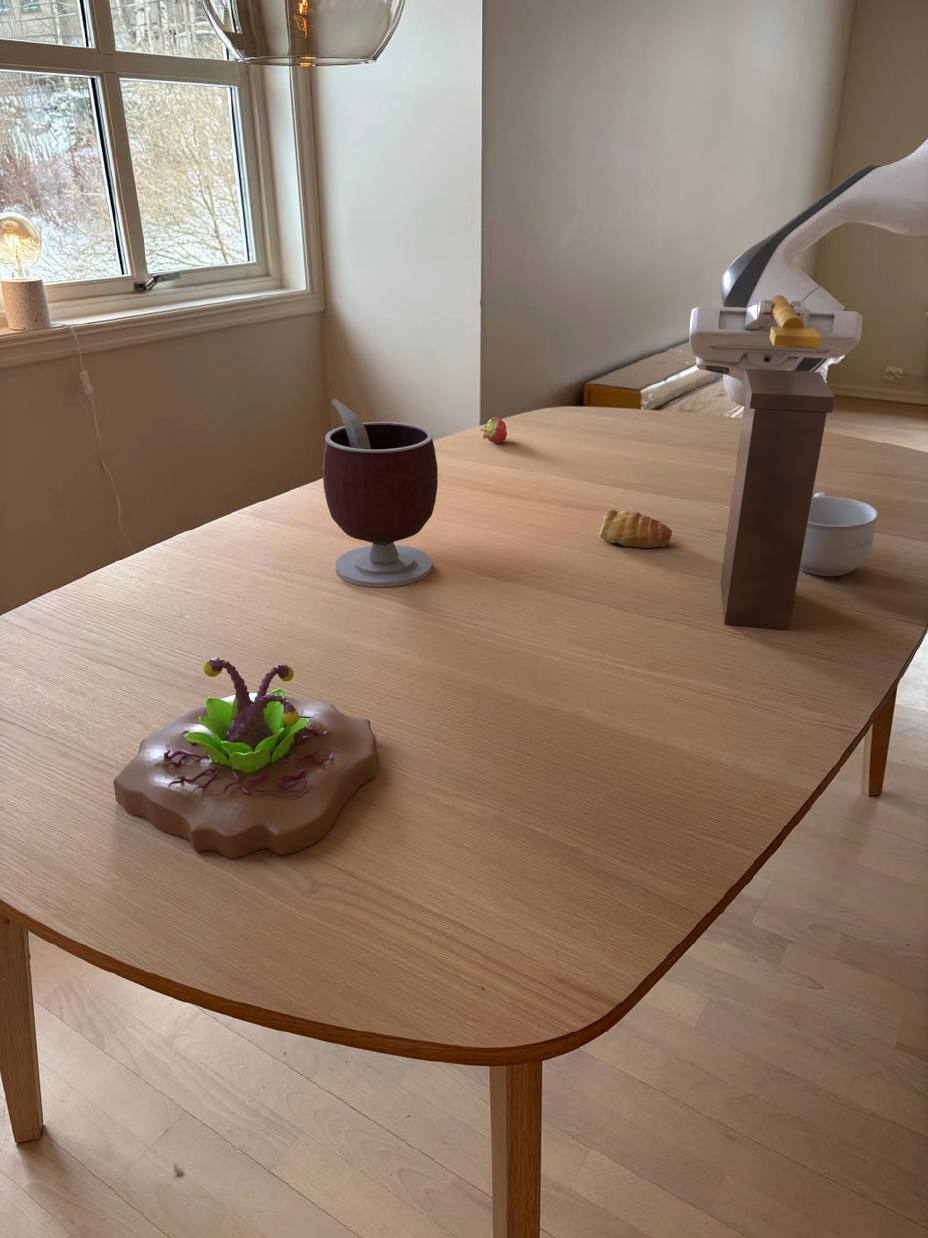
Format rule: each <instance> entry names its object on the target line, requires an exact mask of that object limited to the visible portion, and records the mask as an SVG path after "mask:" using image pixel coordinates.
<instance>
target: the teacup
mask: <svg viewBox="0 0 928 1238" xmlns="http://www.w3.org/2000/svg"><path fill="white" fill-rule="evenodd" d="M878 518H879V512H878V510H877V509H876V508H874V506H873V505H870V504H868V503H866V502H863V501H860V500H859V499H858V500H857V499H853V498H849V497H848V498H847V497H841V496H832V495H831V496H829V494H828V493H826V492H816V493H815V494H814V495H813V496H812V501H811V506H810V512H809V518H808V523H807V529H806V535H805V541H804V546H803V552H802V558H801V563H800V569H799V570H801V571H803V572H805V573H807V574H810V575H814V576H819V577H820V576H821V577H840V576H844V575H847V574H849V573H851V572H852V571H854V570H856V569H857V568H859V567H861V566H862V565H863V564H864V563H865V562H866V561H867V560H868V558H869V556H870V553H871V550H872V546H873V542H874V536H875V532H876V525H877V524H876V523H877V520H878Z"/></svg>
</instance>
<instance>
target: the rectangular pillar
mask: <svg viewBox="0 0 928 1238" xmlns="http://www.w3.org/2000/svg"><path fill="white" fill-rule="evenodd" d="M743 385H744V389H745V392H746V397H745V404H744V407H743V413H742V419H741V428H740V434H739V441H738V449H737V455H736V457H737V458H736V463H735V464H736V465H735V471H734V479H733V486H732V494H731V500H730V501H731V502H730V507H729V508H730V509H729V516H728V523H727V530H726V536H725V537H726V539H725V544H724V551H723V558H722V561H723V562H722V565H721V566H722V567H721V574H720V593H721V603H722V615H723V625H729V626H738V627H739V626H740V627H749V628H751V627H752V628H761V629H762V628H763V629H771V630H772V629H773V630H782V631H785V630H786V631H790V627H791V626H790V625H791V619H792V615H793V608H794V603H795V597H796V591H797V586H798V581H799V580H798V579H799V573H800V570H801V569H800V563H801V558H802V552H803V546H804V541H805V535H806V529H807V523H808V518H809V512H810V506H811V501H812V497H813V496H814V495H813V494H814V488H815V484H816V477H817V472H818V465H819V461H820V455H821V448H822V443H823V437H824V431H825V427H826V420H827V415H828V414H832V413H833V411H834V406H835V405H834V404H835V400H836V396H835V395H834V394H833V391H832V390H831V388H830V387H829V386H828V384H827V382H826V380H825V379H824V377H823V376H822V374H821V372H820V371H815V372H808V371H785V370H763V369H745V370H744V378H743Z"/></svg>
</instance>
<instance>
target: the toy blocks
mask: <svg viewBox="0 0 928 1238" xmlns="http://www.w3.org/2000/svg"><path fill="white" fill-rule="evenodd" d="M771 300H773V306H772V308H773V309H772V315H773V317H774V319H775V321H776V323H777V324H778V326H779V327H771V332H770V340H771V342H772V344H773V346H774V347H788V348H808V349H819V345H820V339H821V337H820V335H819V334H818V333H817V331H816V330H815V329H811V328H804V325H803V322H802V321H801V319H800V318H799V317H798V315H797V314H796V312H795V311H794V309H793V308H792V307H791V305H790V304H789V302H788V301H787V299H786V298H785V297H783V296H780V295H778V296H775V297H773V298H772V299H771Z"/></svg>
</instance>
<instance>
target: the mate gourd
mask: <svg viewBox="0 0 928 1238" xmlns="http://www.w3.org/2000/svg"><path fill="white" fill-rule="evenodd" d="M331 405H332V406H333V407H335V408H336V410H337V412H338V413H339V416H340V417H341V420H342V423H343V426H339V427H336V428H334V429H332V430H330V431H328V432H327V433H326V434H325V436H324V441H325V444H324V449H323V455H322V456H323V458H322V468H321V469H322V485H323V491H324V496H325V502H326V505H327V509H328V511H329V514H330V516H331V518H332V520H333V521H334V522H335V523H336V525H337V526H338V527H339V528H340V529H341V530H342V531H343V533H344V534H346V535H347V536H349V537H351V538H352V539H355V540H359V541H364V542H368V543H372V544H371V545H367V546H361V547H358V548H355V549H351V550H348V551H346V552H344V553H343V554H341V555H340V556H339V557H338V558H337V559H336V560H335V565H334V566H335V573H336V575H337V576H338V577H339V579H341V580H343V581H345V582H347V583H350V584H352V585H356V586H361V587H367V588H368V587H369V588H392V587H393V588H394V587H401V586H406V585H410V584H413V583H416V582H419V581H421V580H423V579H424V578H426V577H427V576H428V575H429V574H430V573H432V569H433V560H432V558H431V556H430V555H429V554H428V553H426V552H425V551H422V550H421V549H418V548H415V547H411V546H407V545H400V544H395V542H399V541H402V540H405V539H409V538H411V537H414V536H415V535H417V534H419V533H420V531H421V530H422V529H423V528H424V526H425V525H426V524H427V522H428V521H429V520H430V519H431V517H432V516H433V513H434V508H435V505H436V500H437V493H438V485H439V481H438V478H439V477H438V476H439V475H438V473H439V472H438V460H437V454H436V449H435V448H436V447H435V444H434V440H433V438H434V437H433V436H434V435H433V432H431V430H429V428H426V427H424V426H420V425H417V424H412V423H408V422H407V423H406V422H398V421H397V422H396V421H370V422H369V421H368V422H362V421H361V419H360V418H359V417H358V416H357V414H356V413H354V411H352V410H351V409H350V408H349V407H347V406H346V405H345V404H344V403H343V402H340V400H338V399H337V398H334V399H332V401H331Z"/></svg>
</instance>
